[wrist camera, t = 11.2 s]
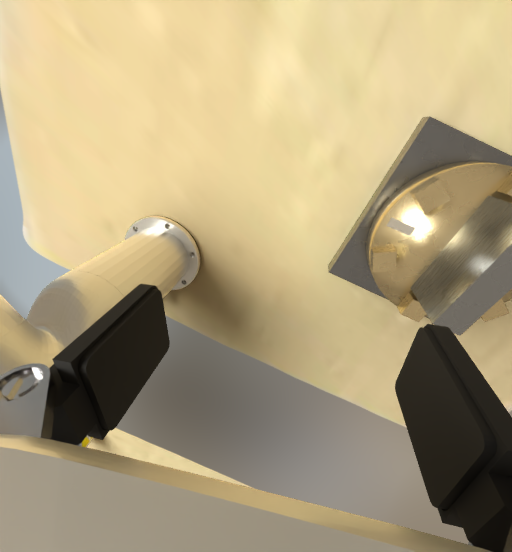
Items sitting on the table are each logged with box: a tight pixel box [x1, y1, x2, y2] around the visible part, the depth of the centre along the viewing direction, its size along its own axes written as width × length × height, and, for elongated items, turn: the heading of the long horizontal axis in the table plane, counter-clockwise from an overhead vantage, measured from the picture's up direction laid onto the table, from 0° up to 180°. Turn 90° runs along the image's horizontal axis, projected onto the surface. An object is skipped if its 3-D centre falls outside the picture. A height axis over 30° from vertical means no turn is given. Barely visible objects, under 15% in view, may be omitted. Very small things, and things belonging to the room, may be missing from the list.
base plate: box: [328, 117, 512, 318], centre depth 33 cm, size 20×20×2 cm
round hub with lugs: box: [366, 161, 512, 335], centre depth 27 cm, size 18×18×10 cm
